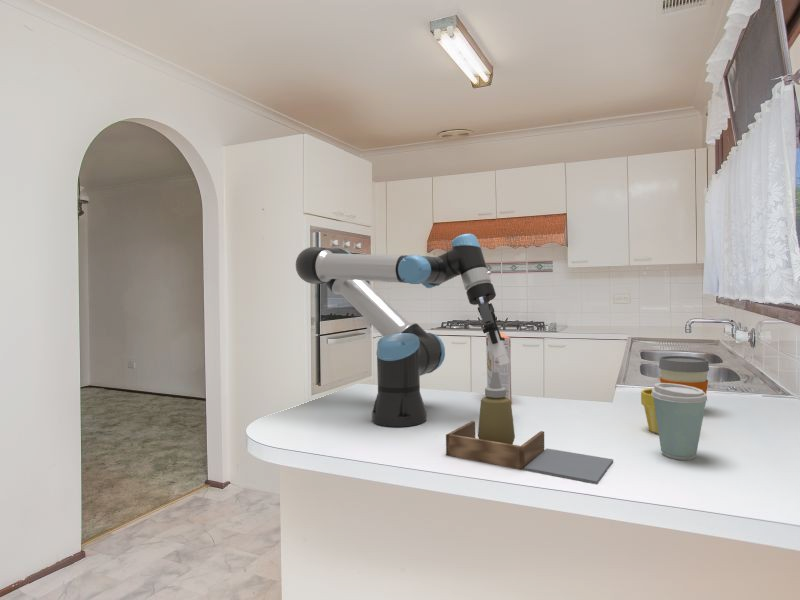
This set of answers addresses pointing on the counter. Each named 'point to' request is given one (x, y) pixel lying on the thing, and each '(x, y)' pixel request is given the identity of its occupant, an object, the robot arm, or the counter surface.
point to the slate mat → (570, 465)
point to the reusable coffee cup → (684, 371)
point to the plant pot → (649, 409)
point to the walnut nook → (492, 448)
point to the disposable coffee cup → (679, 418)
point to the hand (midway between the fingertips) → (502, 360)
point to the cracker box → (503, 369)
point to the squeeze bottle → (496, 414)
